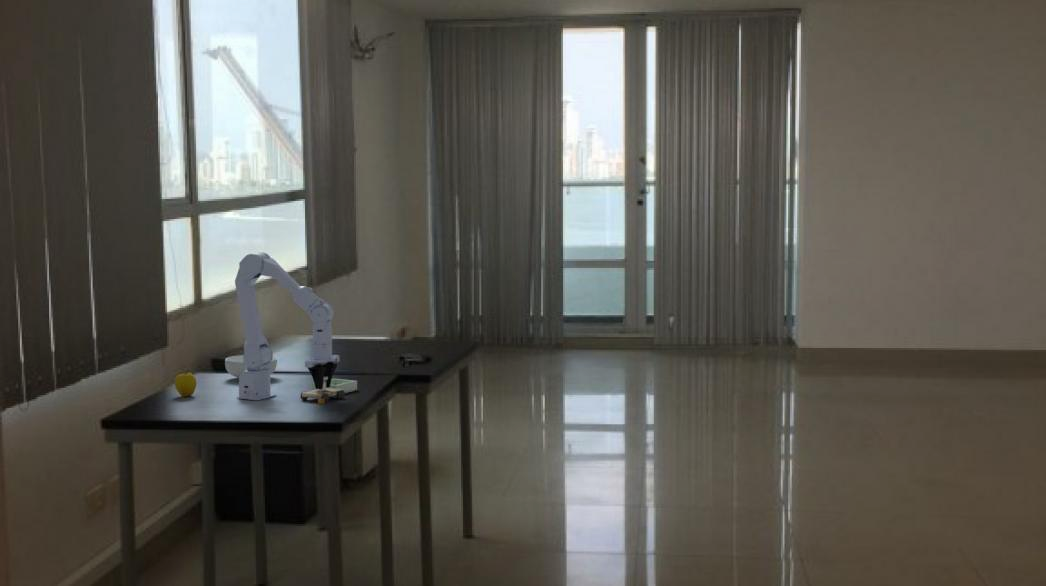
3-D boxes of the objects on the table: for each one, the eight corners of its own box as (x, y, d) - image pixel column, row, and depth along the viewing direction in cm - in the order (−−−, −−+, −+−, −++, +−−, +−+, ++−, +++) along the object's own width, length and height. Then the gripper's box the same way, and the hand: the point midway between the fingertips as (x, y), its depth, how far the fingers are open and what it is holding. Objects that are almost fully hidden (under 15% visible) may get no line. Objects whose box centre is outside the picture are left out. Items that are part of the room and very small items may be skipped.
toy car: (321, 403, 350) (321, 395, 350) (297, 401, 354) (297, 392, 354) (345, 397, 361) (345, 389, 360) (322, 395, 365) (322, 386, 364)
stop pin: (323, 400, 356) (323, 377, 355) (315, 399, 357) (315, 376, 356) (330, 398, 358) (330, 376, 358) (321, 397, 360) (321, 375, 359)
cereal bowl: (230, 384, 384) (229, 362, 383) (221, 376, 399) (220, 356, 398) (282, 381, 391) (281, 360, 390) (271, 374, 406) (271, 353, 405)
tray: (336, 395, 365) (336, 385, 364) (312, 392, 369) (312, 383, 368) (357, 390, 374) (357, 380, 374) (334, 387, 378) (334, 378, 378)
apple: (196, 394, 365) (195, 368, 364) (197, 397, 359) (196, 371, 358) (174, 395, 363) (174, 369, 362) (175, 398, 357) (174, 372, 356)
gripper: (318, 347, 348) (318, 392, 349) (347, 341, 361) (347, 385, 362) (299, 345, 351) (299, 390, 352) (328, 340, 364) (329, 383, 365)
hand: (322, 388), depth 357 cm, fingers closed on stop pin, 3 cm apart
